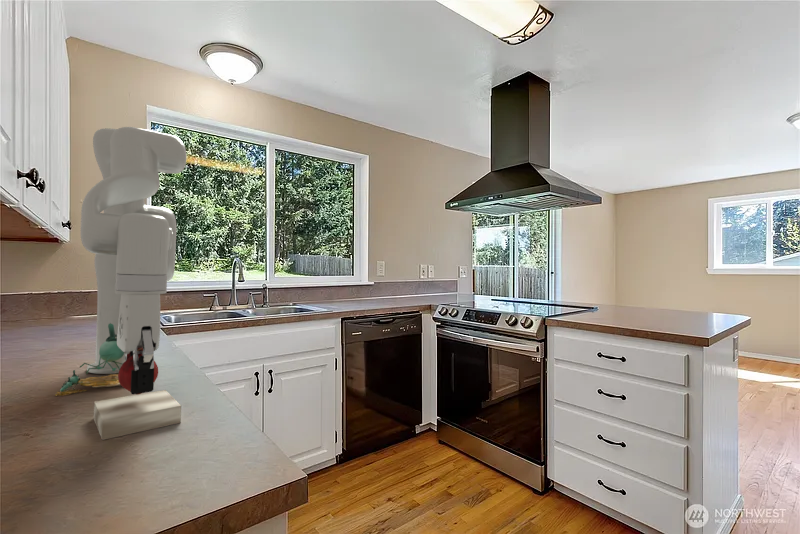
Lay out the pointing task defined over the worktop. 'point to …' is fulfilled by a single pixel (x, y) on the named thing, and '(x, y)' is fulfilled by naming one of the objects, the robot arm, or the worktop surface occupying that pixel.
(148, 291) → the robot arm
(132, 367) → the onion
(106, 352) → the frog figurine
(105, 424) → the white rectangular block
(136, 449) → the worktop surface
